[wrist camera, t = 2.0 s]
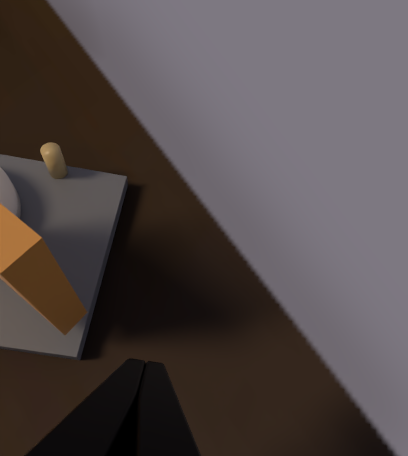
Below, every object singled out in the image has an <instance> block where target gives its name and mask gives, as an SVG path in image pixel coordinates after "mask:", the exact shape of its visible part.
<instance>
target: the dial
mask: <svg viewBox="0 0 408 456" xmlns="http://www.w3.org/2000/svg"><path fill="white" fill-rule="evenodd" d="M20 215H21V203H20V198H19V195H18V193H17V191H16V189H15V187H14V186H13V184H12V182H11V181H10V179H9V177H8V176H7V174H6V173H5V172H4V170H3V169H2V168H0V279H1V280H3V281H4V282H5V283H6V284H7V285H8V286H9V287H11V288H12V289H13V290H14V291H15V292H16V293H17V294H18V295H20V296H21V297H22V298H23V299H24V300H25V301H26V302H27V303H29V304H30V305H31V306H32V307H33V308H34V309H35V310H37V311H38V312H39V313H40V314H41V315H42V316H43V317H44V318H46V319H47V320H48V321H49V322H50V323H51V324H52V325H53V326H55V327H56V328H57V329H58V330H59V331H60V332H61V333H63V334H64V335H66V334H67V333H68V332H69V331H70V330H71V329H72V328H73V327H74V326H75V325H76V324H77V323H78V322H79V321H80V320H81V319H82V318H83V317H84V315H85V314H86V313H87V311H86V309H85V308H84V306H83V304H82V303H81V301H80V299H79V298H78V296H77V294H76V293H75V291H74V289H73V288H72V286H71V284H70V283H69V281H68V280H67V278H66V276H65V275H64V273H63V271H62V270H61V268H60V266H59V265H58V263H57V261H56V260H55V258H54V257H53V255H52V253H51V252H50V250H49V248H48V247H47V245H46V243H45V242H44V240H43V238H42V237H41V236H39V235H38V234H37V233H36V232H35V231H33V230H32V229H31V228H30V227H28V226H27V225H26V224H25V223H24V222H22V221H21V220H20Z"/></svg>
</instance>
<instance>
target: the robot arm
mask: <svg viewBox="0 0 408 456" xmlns="http://www.w3.org/2000/svg"><path fill="white" fill-rule="evenodd" d="M128 455H129V456H201V454H200V452H199V450H198V447H197V445H196V442H195V440H194V437H193V435H192V432H191V430H190V427H189V425H188V422H187V420H186V417H185V415H184V413H183V410H182V408H181V405H180V403H179V400H178V398H177V395H176V393H175V390H174V388H173V385H172V383H171V380H170V378H169V376H168V373H167V371H166V368H165V366H164V364H163V363H158V362H151V361H148V362H147V363H146V365H145V361H144V360H138V359H127V360H126V361H125V362H124V363H123V364H122V365H121V366H120V367H119V368H118V369H117V370H115V371H114V372H113V373H112V374H111V375H110V376H109V377H108V378H107V379H106V380H105V381H104V382H103V383H101V384H100V385H99V386H98V387H97V388H96V389H95V390H94V391H93V392H92V393H91V394H90V395H89V396H87V397H86V398H85V399H84V400H83V401H82V402H81V403H80V404H79V405H78V406H77V407H76V408H74V409H73V410H72V411H71V412H70V413H69V414H68V415H67V416H66V417H65V418H64V419H63V420H62V421H60V422H59V423H58V424H57V425H56V426H55V427H54V428H53V429H52V430H51V431H50V432H49V433H47V434H46V435H45V436H44V437H43V438H42V439H41V440H40V441H39V442H38V443H37V444H36V445H35V446H33V447H32V448H31V449H30V450H29V451H28V452H27V453H26V454H25V455H24V456H128Z"/></svg>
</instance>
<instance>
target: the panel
mask: <svg viewBox="0 0 408 456" xmlns="http://www.w3.org/2000/svg"><path fill="white" fill-rule="evenodd" d="M41 154H42V156H43V159H44V161H45V162H41V161H35V160H30V159H24V158H18V157H13V156H7V155H1V154H0V168H2V169H3V170H4V172H5V173H6V174H7V176H8V177H9V179H10V181H11V182H12V184H13V186H14V187H15V189H16V191H17V193H18V195H19V198H20V203H21V215H20V220H21V221H22V222H24V223H25V224H26V225H27V226H28V227H30V228H31V229H32V230H33V231H35V232H36V233H37V234H38V235H39V236H41V237H42V238H43V240H44V242H45V243H46V245H47V247H48V248H49V250H50V252H51V253H52V255H53V257H54V258H55V260H56V261H57V263H58V265H59V266H60V268H61V270H62V271H63V273H64V275H65V276H66V278H67V280H68V281H69V283H70V284H71V286H72V288H73V289H74V291H75V293H76V294H77V296H78V298H79V299H80V301H81V303H82V304H83V306H84V308H85V309H86V311H87V313H86V314H85V315H84V317H83V318H82V319H81V320H80V321H79V322H78V323H77V324H76V325H75V326H74V327H73V328H72V329H71V330H70V331H69V332H68V333H67V334H66V335H64V334H63V333H61V332H60V331H59V330H58V329H57V328H56V327H55V326H53V325H52V324H51V323H50V322H49V321H48V320H47V319H46V318H44V317H43V316H42V315H41V314H40V313H39V312H38V311H37V310H35V309H34V308H33V307H32V306H31V305H30V304H29V303H27V302H26V301H25V300H24V299H23V298H22V297H21V296H20V295H18V294H17V293H16V292H15V291H14V290H13V289H12V288H11V287H9V286H8V285H7V284H6V283H5V282H4V281H3V280H1V279H0V349H6V350H13V351H20V352H27V353H34V354H40V355H47V356H54V357H61V358H68V359H75V360H80V359H81V356H82V352H83V348H84V345H85V341H86V337H87V333H88V330H89V326H90V322H91V319H92V315H93V311H94V308H95V304H96V300H97V297H98V293H99V289H100V286H101V282H102V278H103V275H104V271H105V267H106V264H107V260H108V256H109V253H110V249H111V245H112V242H113V238H114V234H115V231H116V227H117V223H118V220H119V216H120V212H121V209H122V205H123V201H124V198H125V194H126V190H127V187H128V184H127V176H121V175H116V174H110V173H104V172H98V171H93V170H87V169H81V168H76V167H70V166H66V164H65V161H64V158H63V155H62V152H61V149H60V147H59V145H57V144H56V143H47V144H44V145H43V146H42V147H41Z"/></svg>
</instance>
